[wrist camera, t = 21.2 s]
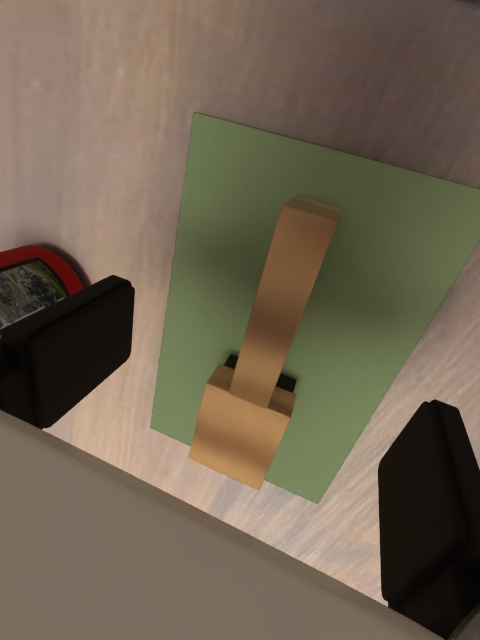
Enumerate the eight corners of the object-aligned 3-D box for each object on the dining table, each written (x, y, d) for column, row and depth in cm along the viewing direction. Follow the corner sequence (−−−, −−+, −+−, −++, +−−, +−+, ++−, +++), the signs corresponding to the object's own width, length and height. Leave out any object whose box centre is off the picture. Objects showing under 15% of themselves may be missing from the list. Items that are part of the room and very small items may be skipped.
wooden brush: (271, 187, 16) (250, 194, 13) (369, 216, 15) (373, 231, 12) (210, 419, 24) (187, 458, 21) (272, 446, 23) (258, 491, 20)
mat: (198, 113, 16) (193, 111, 15) (502, 195, 14) (507, 196, 13) (153, 422, 27) (149, 428, 26) (318, 497, 25) (318, 504, 24)
